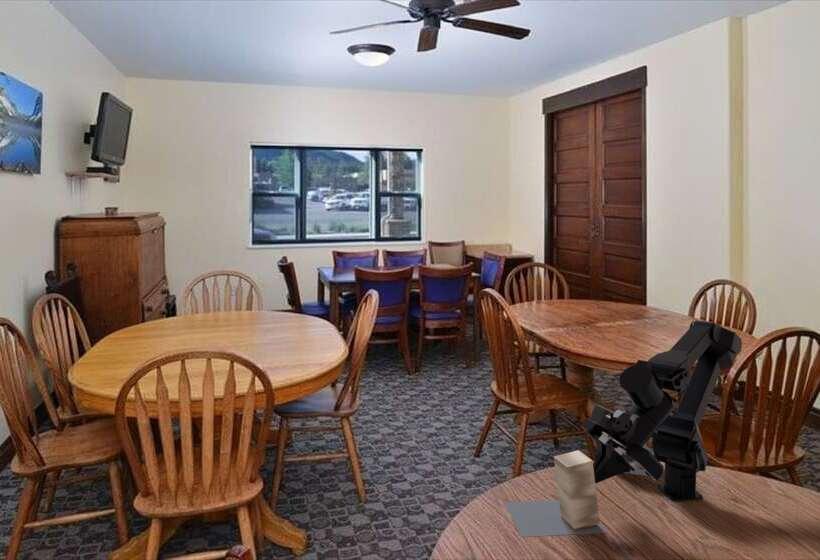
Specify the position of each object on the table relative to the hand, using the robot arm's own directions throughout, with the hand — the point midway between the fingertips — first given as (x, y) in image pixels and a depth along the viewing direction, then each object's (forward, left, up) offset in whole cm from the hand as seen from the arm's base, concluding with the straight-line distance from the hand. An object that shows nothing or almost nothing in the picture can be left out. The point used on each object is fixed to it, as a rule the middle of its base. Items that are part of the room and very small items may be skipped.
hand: (590, 482), depth 109 cm
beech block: (0, -2, -7) cm, 7 cm away
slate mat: (-2, -6, -8) cm, 10 cm away
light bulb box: (-22, +18, -8) cm, 30 cm away
